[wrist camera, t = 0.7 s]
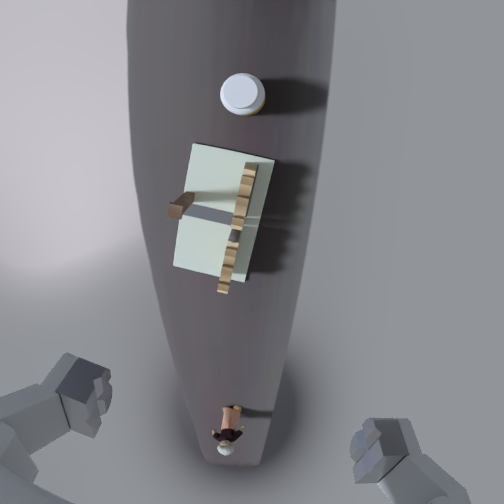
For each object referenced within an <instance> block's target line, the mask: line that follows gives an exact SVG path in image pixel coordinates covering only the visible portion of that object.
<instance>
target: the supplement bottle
mask: <svg viewBox="0 0 504 504" xmlns="http://www.w3.org/2000/svg"><path fill="white" fill-rule="evenodd" d="M220 96H221V101H222V103H223V105H224V106H225V107H226V108H227V109H228V110H229V111H230V112H232V113H234V114H238V115H241V116H250V115H254V114H256V113H257V112H259V111H260V110H261V109H262V107H263V106H264V103H265V90H264V87H263V85H262V83H261V82H260V80H259V79H258V78H256V77H255V76H253V75H250V74H246V73H239V74H235V75H233V76H231V77H229V78H228V79H227V80H226V81H225V82H224V84H223V86H222V88H221V93H220Z"/></svg>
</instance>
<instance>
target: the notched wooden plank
mask: <svg viewBox="0 0 504 504" xmlns="http://www.w3.org/2000/svg"><path fill="white" fill-rule="evenodd" d="M231 231H232V230H231ZM241 233H242V231H241V232H240V235H239V239H238V241H237V242H236V243H232V242H231V241H230V240H229V238H228V242H227V246H226V250H225V256H224V261H223V265H222V269H221V275H220V280H219V283H218V288H217V292H222V293H226V294H227V293H228V289H229V285H230V280H231V276H232V272H233V267H234V263H235V259H236V254H237V250H238V246H239V241H240V237H241ZM230 234H231V233H230ZM229 237H230V236H229Z"/></svg>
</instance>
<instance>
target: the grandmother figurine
mask: <svg viewBox="0 0 504 504" xmlns="http://www.w3.org/2000/svg"><path fill="white" fill-rule="evenodd" d="M241 409H242V408H241V406H239V405H235V406H233V409H231V408H230V407H224V408H223V411H224V416H223V421H222V427H221V434H219V433H217V431H216V430H215V429H213V430H212V433H213V437H214V438H215V439H216V440H218V441H220V442H221V443H220V445H219V446H218V447H217V449H218V451H219V452H220V453H221V454H223V455H229V454H231V453H232V452H233V446H232V443H231V442H234V441H235V440H237V439H238V438H239V437H240V436H241V435H242V434H243V432H244V430H245V429H246V426H244V425H243V426H242V427H241V428H240V429H239V430H238V431H236V428H237V425H238V422H239V417H240V412H241Z"/></svg>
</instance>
